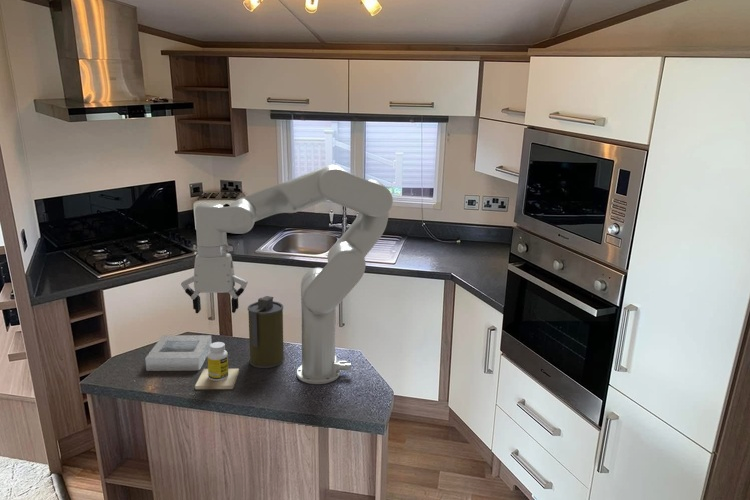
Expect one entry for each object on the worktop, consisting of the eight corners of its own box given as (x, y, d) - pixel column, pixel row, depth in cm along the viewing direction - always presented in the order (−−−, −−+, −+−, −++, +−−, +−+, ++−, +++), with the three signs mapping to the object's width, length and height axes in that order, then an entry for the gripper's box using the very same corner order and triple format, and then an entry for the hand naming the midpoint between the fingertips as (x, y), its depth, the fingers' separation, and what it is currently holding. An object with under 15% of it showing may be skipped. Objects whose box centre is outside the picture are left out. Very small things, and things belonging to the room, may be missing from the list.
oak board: (239, 371, 156) (239, 368, 156) (232, 388, 147) (232, 385, 146) (203, 371, 156) (203, 368, 155) (195, 389, 146) (195, 386, 146)
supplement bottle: (223, 382, 148) (221, 349, 145) (204, 380, 149) (203, 347, 146) (232, 373, 153) (230, 341, 150) (214, 371, 154) (212, 339, 151)
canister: (263, 350, 170) (261, 290, 165) (290, 357, 166) (290, 296, 161) (241, 364, 161) (238, 301, 156) (270, 372, 157) (268, 307, 152)
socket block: (211, 346, 172) (211, 335, 171) (199, 370, 156) (198, 357, 155) (163, 347, 171) (162, 335, 170) (146, 370, 155) (145, 358, 154)
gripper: (248, 246, 146) (250, 306, 151) (182, 247, 145) (187, 306, 149) (243, 254, 139) (246, 316, 143) (174, 254, 138) (179, 317, 142)
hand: (216, 311), depth 146 cm, fingers open, 9 cm apart
